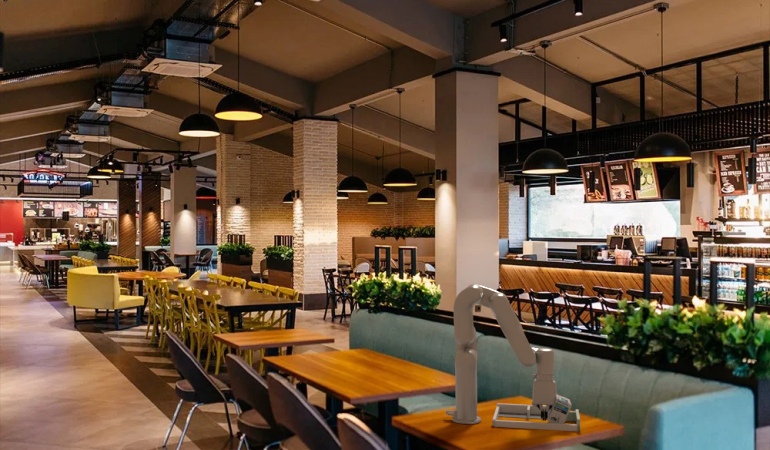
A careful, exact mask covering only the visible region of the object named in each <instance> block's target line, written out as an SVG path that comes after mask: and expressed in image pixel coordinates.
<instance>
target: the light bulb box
mask: <svg viewBox="0 0 770 450" xmlns="http://www.w3.org/2000/svg"><path fill="white" fill-rule="evenodd" d="M572 405H573V404H572V403H571V399H569V398H567V397H565V396H562V395H560V394H558V393H557V397H556V400H555V403H554V405H553V406H552V408H551V409H550V411H549V413H548V419H547V423H558V424H566V422H567V421H566V419H567V416H568V414H569V411H571V409H572Z"/></svg>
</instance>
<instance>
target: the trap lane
mask: <svg viewBox="0 0 770 450" xmlns="http://www.w3.org/2000/svg"><path fill="white" fill-rule="evenodd" d="M495 408H496V409H495V411H494V415H493V417H492V427H497V428H511V429H512V428H514V429H527V430H528V429H532V430H534V429H535V430H547V431H566V432H579V431H580V432H581V417H580V413H579V411H580V410H579V409H575V410H574V411H571V410H570V411H569V414H568V416H567V419H566V421H565V422H575V424H574V423H573V424H572V423H571V424H570V423H565V424H558V423H550V422H537V421H536V422H535V421H518V420H505V419H503V420H501V419H499V418H515V419H517V418H518V419H529V420H532V419H534V420H535V419H536V420H542V418H541V411H540V409H539V408H538V407H536V406H533V405H532V404H521V403H519V404H516V403H515V404H514V403H502V402H501V403H500V402H499V403H498V402H497V403H496V407H495ZM543 409H544V410H545V409H546V405H543ZM549 411H550V410H549ZM549 411H548V413H549Z"/></svg>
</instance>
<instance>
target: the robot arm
mask: <svg viewBox="0 0 770 450" xmlns="http://www.w3.org/2000/svg"><path fill="white" fill-rule="evenodd" d="M475 305H480V306H483V307H485V308H488V309H490V310H491V312H492V314H493V316H494V317H495V319H496V321H497V324H498V326H499V327H500V329H501V331H502V333H503V335H504V336H505V338H506V340H507V341H508V343H509V345H510V347H511V349H512V350H513V353H514V355H515V357H516V358H517V361H518V362H519V364H520V365H521V366H523V367H525V368H532V367H533V366H534V365H535V373H532V378H534V380H533V383H532V384H533V385H532V396H531V397H532V402H531V405H533V406H536V407H538V408H539V409H540V411H541V418H542V419H541V421H543V422H544V421H545V422H547V420H548V411H549V410H550V409H551V408H552V406H553V405H554V403H555V400H556V397H557V394H558V391H557V383H556V381H555V379H554V378H555V376H554V375H555V374H554V373H555V369H554V368H555V352H554V350H553V349H551V348H547V347H546V348H545V347H544V348H543V347H542V348H535V347H532V346H531V345H530V343H529V341H528V338H527V337H526V334H525V332H524V330H523V329H524V328H523V326H522V323H521V322H520V320H519V318H518V316H517V314H516V313H515V311H514V309H513V307H512V305H511V303H510V301H509V299H508V297H507V296H506V294H505V293H503V292H501V291H497V290H494V289H492V288H489V287H485V286H483V285H480V284H477V283H472V284H469V285H468V286H467V287H465V288H464V289H463V290H461V291H460V292H459V293H458V294H457V296H456V297H455V299H454V303H453V327H454V328H453V337H454V339H455V349H456V350H455V351H456V354H455V358H454V371H455V373H454V374H455V375H454V376H455V377H454V378H455V379H454V380H455V381H454V385H455V387H454V388H455V409H453V410H450V409H446V410H445V415H447V416H452V418H451V420H452V422H454V423H456V424H461V425H474V424H478V423H480V422H482V417H481V416H478V357H479V356H478V343H477V330H476V328H475V326H474V315H473V314H474V312H473V311H474V307H475ZM543 406H546V409H545V410H544V409H543Z"/></svg>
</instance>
